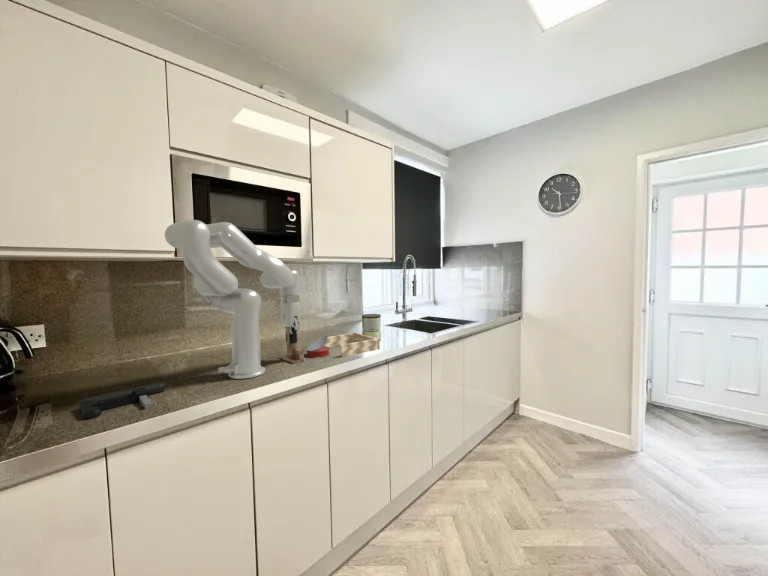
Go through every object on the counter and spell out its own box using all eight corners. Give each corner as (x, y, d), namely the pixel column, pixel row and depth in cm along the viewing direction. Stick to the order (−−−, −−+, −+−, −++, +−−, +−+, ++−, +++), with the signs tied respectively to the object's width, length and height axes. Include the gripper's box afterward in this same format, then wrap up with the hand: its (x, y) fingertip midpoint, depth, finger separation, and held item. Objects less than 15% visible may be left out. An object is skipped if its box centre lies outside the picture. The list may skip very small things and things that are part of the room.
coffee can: (358, 340, 175) (358, 314, 174) (374, 338, 181) (374, 313, 180) (368, 343, 166) (368, 316, 166) (385, 341, 172) (384, 315, 171)
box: (342, 356, 141) (342, 345, 140) (318, 348, 157) (318, 338, 157) (379, 348, 154) (379, 338, 154) (354, 342, 171) (354, 332, 170)
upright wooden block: (292, 363, 131) (291, 329, 130) (280, 358, 140) (279, 326, 139) (303, 361, 134) (302, 328, 133) (291, 356, 143) (290, 325, 143)
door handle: (176, 394, 93) (162, 379, 104) (82, 417, 79) (77, 397, 90) (176, 405, 94) (162, 389, 105) (83, 430, 79) (78, 409, 90)
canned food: (325, 367, 142) (323, 350, 137) (304, 364, 143) (301, 347, 138) (333, 350, 151) (332, 333, 146) (313, 347, 153) (311, 331, 148)
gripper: (274, 299, 140) (275, 340, 141) (289, 301, 127) (291, 346, 128) (290, 298, 145) (291, 338, 145) (307, 299, 132) (308, 344, 133)
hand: (291, 341), depth 137 cm, fingers closed on upright wooden block, 3 cm apart
